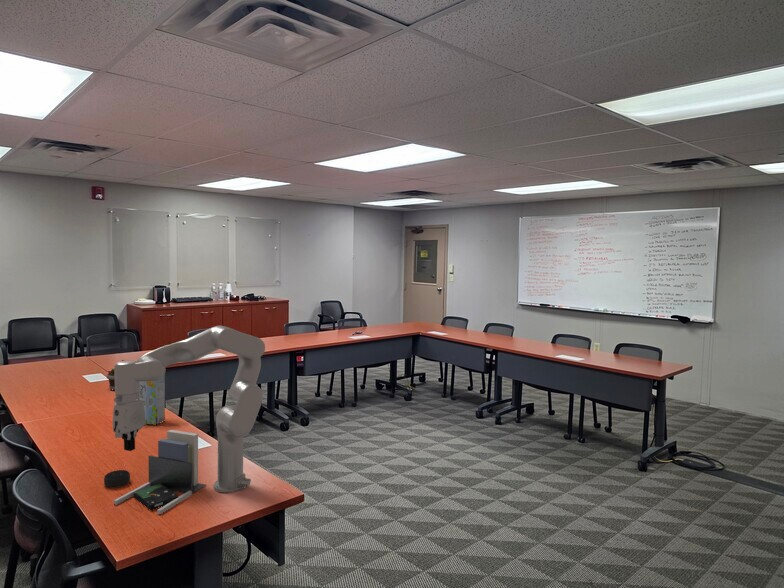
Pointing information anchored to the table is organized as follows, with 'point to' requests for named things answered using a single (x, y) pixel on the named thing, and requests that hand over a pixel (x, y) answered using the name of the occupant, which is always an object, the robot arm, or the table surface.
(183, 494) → the rails
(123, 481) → the smart speaker
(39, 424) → the table surface
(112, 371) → the flowerpot
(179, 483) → the bookend
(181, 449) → the book row
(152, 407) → the snack box
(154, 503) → the disk drive
